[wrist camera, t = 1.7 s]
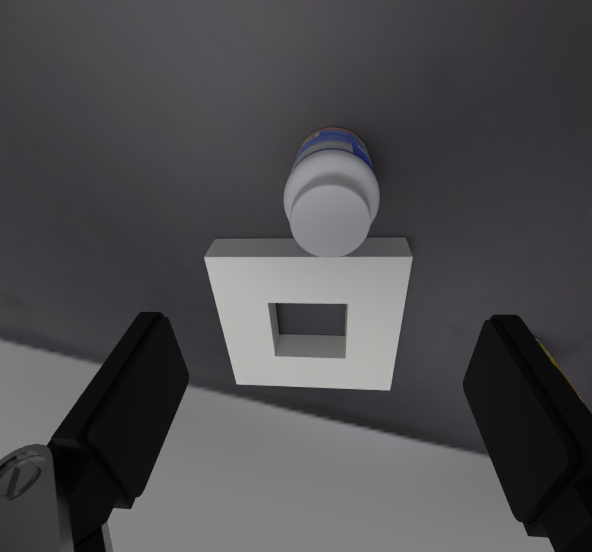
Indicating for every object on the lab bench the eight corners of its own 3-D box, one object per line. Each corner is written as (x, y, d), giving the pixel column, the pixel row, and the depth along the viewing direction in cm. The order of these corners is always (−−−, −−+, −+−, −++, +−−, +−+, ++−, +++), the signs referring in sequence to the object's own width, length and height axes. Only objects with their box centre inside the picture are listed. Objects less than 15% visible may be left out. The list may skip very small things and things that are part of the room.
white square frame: (405, 237, 27) (412, 256, 24) (386, 366, 36) (389, 390, 34) (215, 238, 29) (204, 257, 26) (242, 362, 38) (236, 384, 35)
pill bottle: (370, 195, 25) (388, 266, 17) (301, 204, 26) (287, 275, 18) (367, 118, 22) (387, 161, 14) (288, 131, 23) (265, 179, 15)
